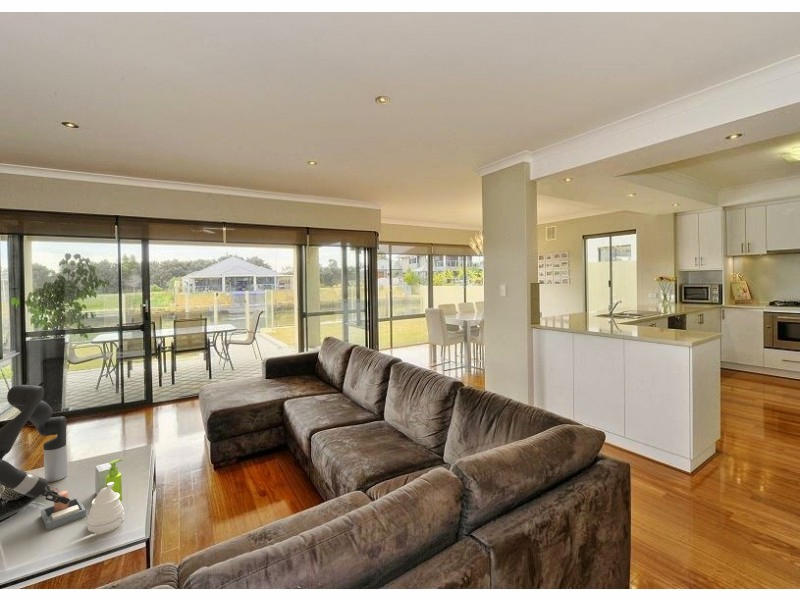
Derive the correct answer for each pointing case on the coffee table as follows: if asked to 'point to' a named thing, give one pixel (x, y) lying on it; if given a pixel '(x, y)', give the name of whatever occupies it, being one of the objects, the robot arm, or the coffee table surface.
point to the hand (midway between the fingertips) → (66, 499)
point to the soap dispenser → (115, 478)
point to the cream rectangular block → (64, 512)
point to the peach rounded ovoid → (59, 505)
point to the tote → (65, 519)
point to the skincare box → (101, 476)
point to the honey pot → (105, 511)
